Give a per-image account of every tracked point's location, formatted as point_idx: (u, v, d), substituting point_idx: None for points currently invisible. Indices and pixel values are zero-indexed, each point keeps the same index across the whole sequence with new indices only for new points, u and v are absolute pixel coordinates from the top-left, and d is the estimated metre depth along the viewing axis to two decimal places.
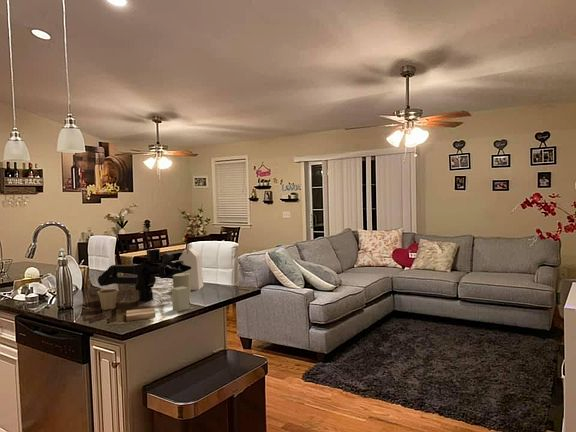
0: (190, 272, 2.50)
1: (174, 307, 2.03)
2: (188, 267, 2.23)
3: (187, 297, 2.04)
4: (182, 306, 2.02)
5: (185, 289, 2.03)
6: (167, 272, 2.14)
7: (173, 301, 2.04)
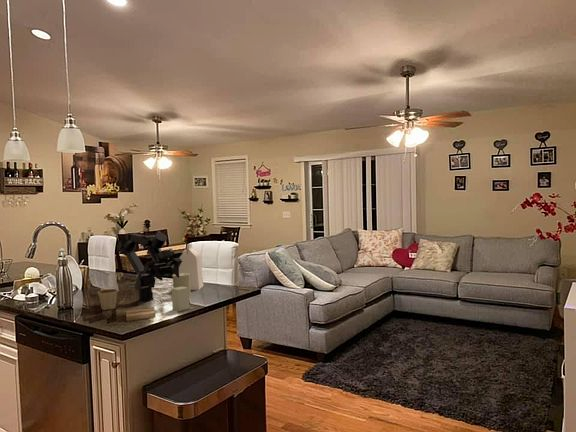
0: (190, 272, 2.50)
1: (174, 307, 2.03)
2: (177, 274, 2.14)
3: (187, 297, 2.04)
4: (182, 306, 2.02)
5: (185, 289, 2.03)
6: (151, 271, 2.08)
7: (173, 301, 2.04)
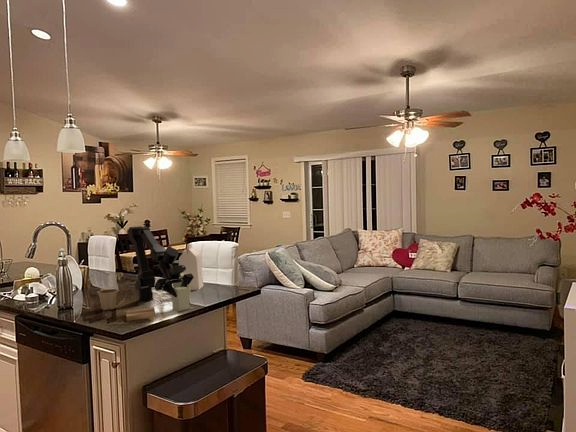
0: (190, 272, 2.50)
1: (174, 307, 2.03)
2: None
3: (187, 297, 2.04)
4: (182, 306, 2.02)
5: (185, 289, 2.03)
6: (165, 287, 2.03)
7: (173, 301, 2.04)
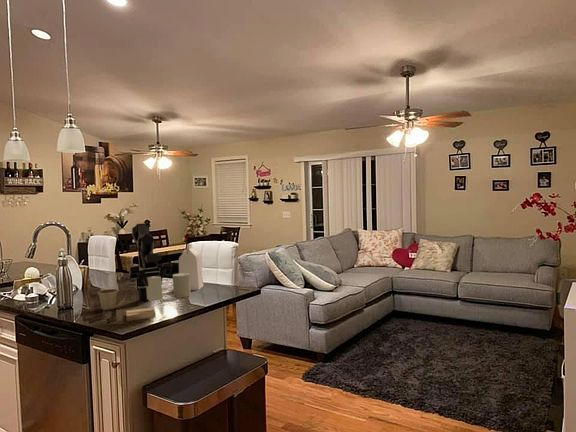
0: (190, 272, 2.50)
1: (147, 296, 1.97)
2: None
3: (159, 287, 1.95)
4: (153, 296, 1.94)
5: (157, 279, 1.95)
6: (139, 275, 1.97)
7: (147, 290, 1.97)
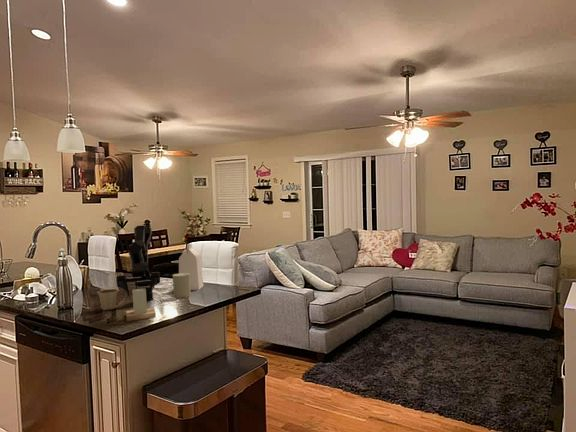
0: (190, 272, 2.50)
1: None
2: (149, 290, 1.96)
3: (144, 300, 1.93)
4: (137, 309, 1.92)
5: (141, 291, 1.92)
6: (122, 285, 1.95)
7: None
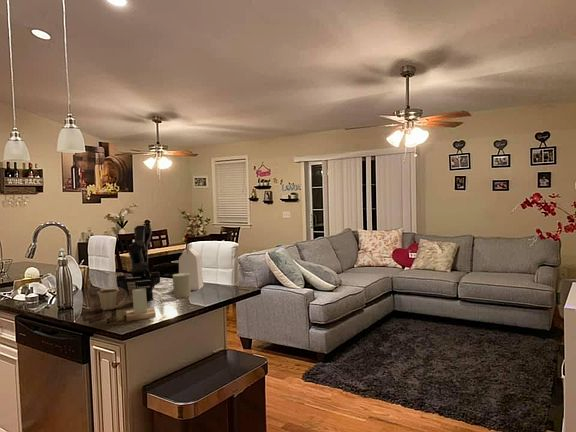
0: (190, 272, 2.50)
1: None
2: (149, 290, 1.96)
3: (144, 300, 1.93)
4: (137, 309, 1.92)
5: (141, 291, 1.92)
6: (122, 285, 1.95)
7: None
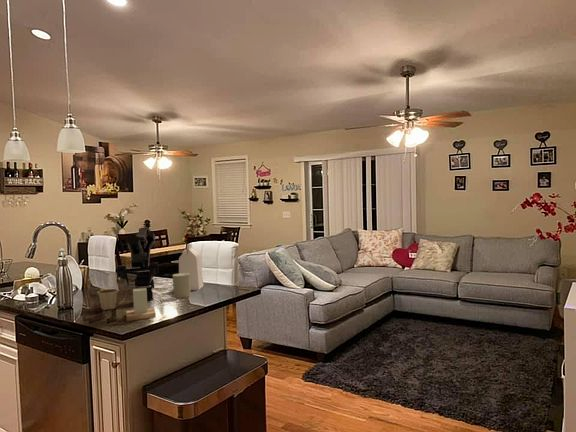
0: (190, 272, 2.50)
1: None
2: (148, 280, 2.02)
3: (144, 300, 1.93)
4: (138, 309, 1.92)
5: (142, 291, 1.93)
6: (122, 275, 2.01)
7: None
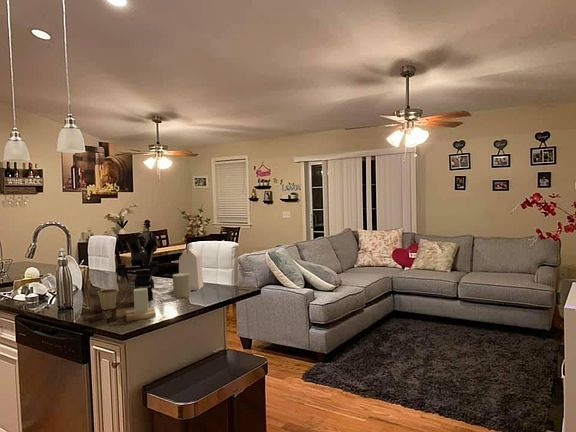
0: (190, 272, 2.50)
1: None
2: (148, 278, 2.05)
3: (145, 300, 1.93)
4: (138, 309, 1.92)
5: (142, 291, 1.92)
6: (122, 273, 2.05)
7: None
